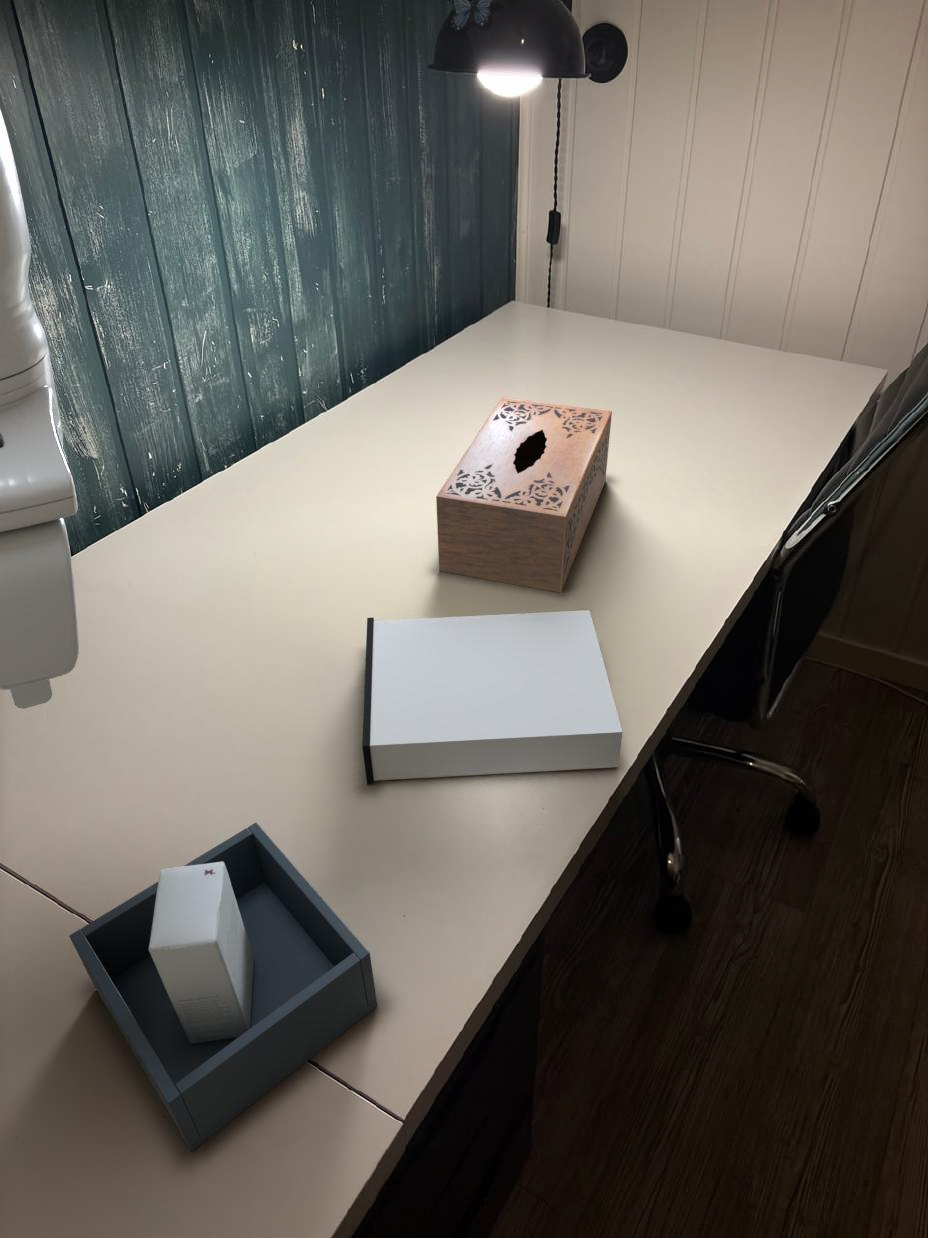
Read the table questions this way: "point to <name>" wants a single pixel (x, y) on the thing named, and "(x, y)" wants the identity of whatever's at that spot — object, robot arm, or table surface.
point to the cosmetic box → (203, 951)
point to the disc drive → (486, 696)
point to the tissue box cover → (524, 494)
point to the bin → (281, 995)
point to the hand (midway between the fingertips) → (11, 645)
